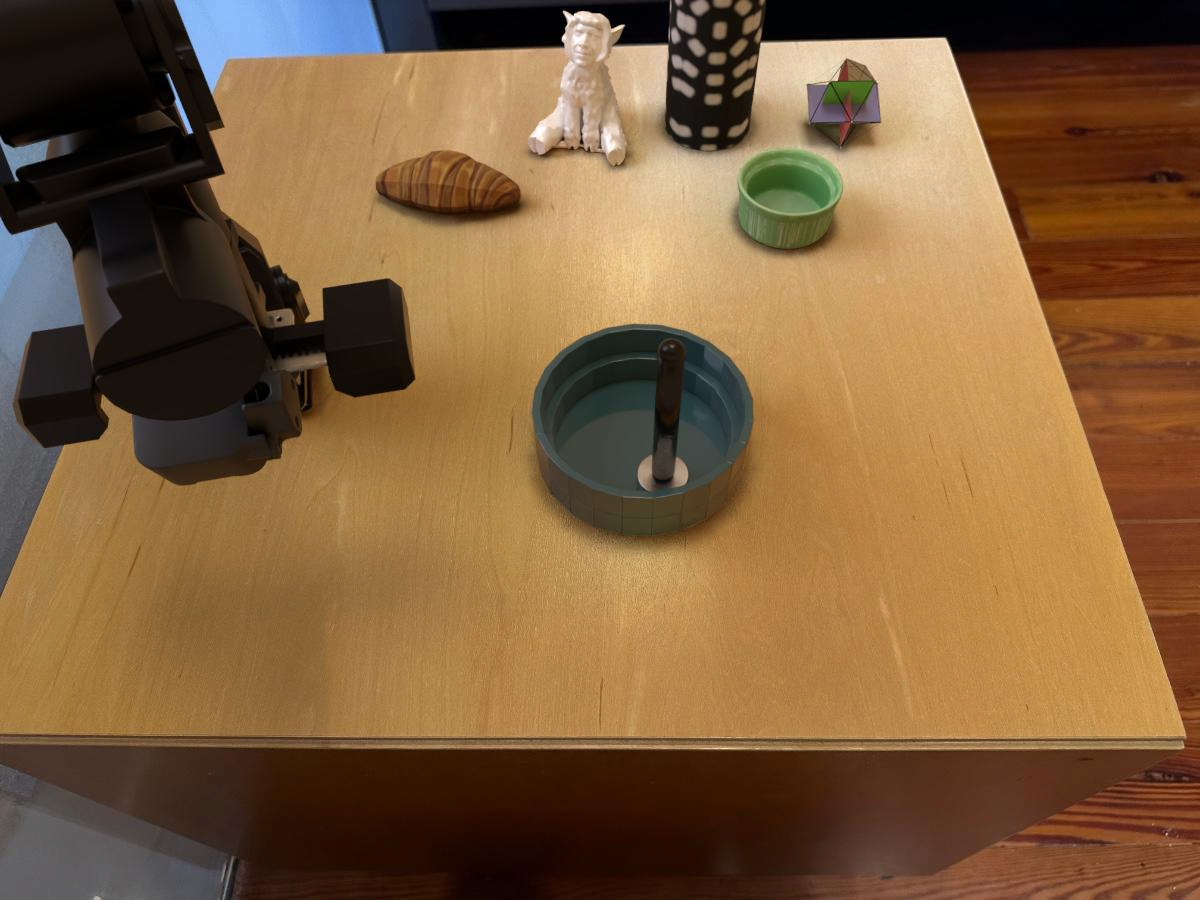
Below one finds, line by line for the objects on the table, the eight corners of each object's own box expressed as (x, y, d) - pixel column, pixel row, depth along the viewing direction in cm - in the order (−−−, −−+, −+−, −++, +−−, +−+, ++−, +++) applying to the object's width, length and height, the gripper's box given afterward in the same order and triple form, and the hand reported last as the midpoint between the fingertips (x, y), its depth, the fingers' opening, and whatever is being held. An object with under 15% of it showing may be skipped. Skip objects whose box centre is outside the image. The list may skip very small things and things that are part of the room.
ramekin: (774, 174, 86) (781, 134, 82) (854, 218, 82) (865, 178, 78) (712, 221, 82) (716, 181, 78) (792, 270, 78) (801, 230, 75)
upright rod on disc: (629, 472, 65) (631, 329, 53) (675, 457, 66) (688, 313, 54) (647, 512, 63) (654, 374, 51) (695, 497, 64) (714, 356, 52)
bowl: (523, 389, 71) (517, 341, 67) (713, 358, 73) (719, 309, 68) (556, 558, 63) (552, 516, 58) (771, 519, 64) (782, 475, 60)
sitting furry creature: (526, 155, 88) (515, 37, 78) (549, 103, 93) (541, -15, 83) (623, 168, 86) (624, 49, 77) (641, 114, 91) (644, -4, 81)
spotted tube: (752, 151, 88) (782, -66, 71) (665, 151, 88) (675, -65, 72) (746, 99, 92) (773, -115, 76) (663, 99, 93) (673, -115, 76)
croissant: (367, 219, 83) (354, 174, 79) (388, 171, 87) (377, 126, 83) (514, 232, 82) (508, 187, 77) (528, 183, 85) (524, 137, 81)
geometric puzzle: (887, 147, 84) (895, 53, 82) (812, 148, 84) (818, 53, 82) (866, 148, 91) (873, 61, 89) (797, 148, 91) (802, 61, 89)
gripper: (-101, 429, 35) (91, 608, 48) (389, 351, 37) (448, 543, 50) (-42, 235, 41) (114, 439, 54) (374, 177, 43) (430, 387, 56)
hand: (274, 453), depth 53 cm, fingers closed
